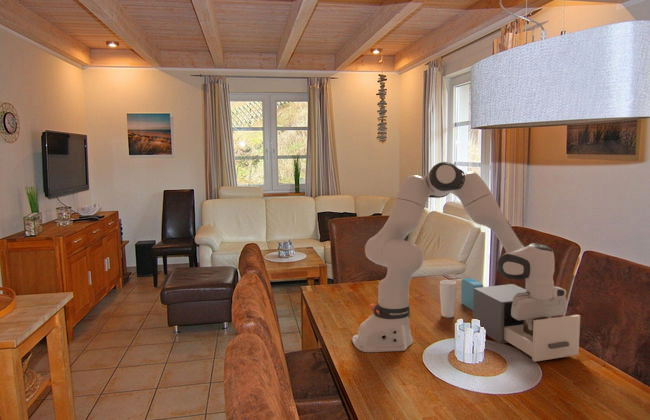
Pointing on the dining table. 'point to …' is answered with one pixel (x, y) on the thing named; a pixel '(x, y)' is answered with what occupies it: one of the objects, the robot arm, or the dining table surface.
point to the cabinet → (495, 309)
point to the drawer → (547, 338)
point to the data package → (468, 291)
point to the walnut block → (525, 326)
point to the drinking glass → (447, 297)
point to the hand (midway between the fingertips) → (538, 328)
